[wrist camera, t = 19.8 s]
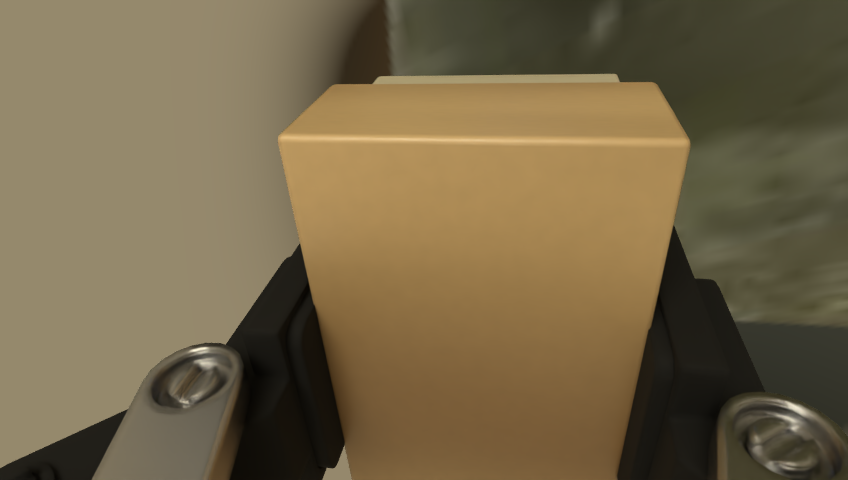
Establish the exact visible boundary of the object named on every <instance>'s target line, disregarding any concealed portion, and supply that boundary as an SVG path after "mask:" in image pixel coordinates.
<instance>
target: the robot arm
mask: <svg viewBox="0 0 848 480" xmlns="http://www.w3.org/2000/svg"><path fill="white" fill-rule="evenodd" d="M344 444H345V441H344V437H343V432H342V428H341V423H340V419H339V414H338V409H337V405H336V400H335V396H334V391H333V386H332V382H331V377H330V373H329V368H328V364H327V359H326V354H325V350H324V345H323V341H322V336H321V331H320V327H319V322H318V318H317V313H316V309H315V305H314V304H313V299H312V295H311V290H310V286H309V281H308V277H307V272H306V267H305V263H304V258H303V254H302V249H301V245H300V244H299V245H298V247H297V249H296V250H295V251H294V253H293V255H292V256H291V257H288V258H286V259H285V260H284V262H283V263H282V264H281V266H280V267H279V268H278V270H277V271H276V273H275V274H274V276H273V277H272V279H271V280H270V281H269V283H268V284H267V286H266V287H265V289H264V290H263V292H262V293H261V294H260V296H259V297H258V299H257V300H256V302H255V303H254V305H253V306H252V308H251V309H250V311H249V312H248V313H247V315H246V316H245V318H244V319H243V321H242V322H241V323H240V325H239V326H238V328H237V329H236V331H235V332H234V333H233V335H232V336H231V338H230V339H229V341H228V342H227V344H226V345H224V344H221V343H204V344H198V345H192V346H189V347H187V348H184V349H181V350H179V351H176V352H175V353H173V354H171V355H170V356H168V357H166V358H164V359H163V360H162V361H160V363H158V364H157V365H156V366H155V367H154V368H152V369H151V370H150V372H149V373H148V375H147V376H146V378H145V379H144V380H143V382H142V384H141V386H140V387H139V390H138V392H137V393H136V395H135V397H134V399H133V401H132V403H131V405H130V407H129V409H127V410H125V411H123V412H121V413H118V414H116V415H114V416H112V417H110V418H108V419H105V420H103V421H101V422H99V423H97V424H94V425H92V426H90V427H88V428H86V429H84V430H81V431H79V432H77V433H75V434H73V435H71V436H68V437H66V438H64V439H62V440H60V441H57V442H55V443H53V444H51V445H49V446H46V447H44V448H42V449H40V450H38V451H35V452H33V453H31V454H29V455H27V456H25V457H22V458H20V459H18V460H16V461H14V462H12V463H9V464H7V465H6V466H4V467H2V468H0V480H322V479H323V476H324V474H325V471H326V468H335V466H336V465H337V463H338V461H339V458H340V455H341V453H342V450H343V447H344ZM617 480H848V436H847V435H846V434H845V433H844V432H843V431H842V429H841V428H840V427H839V426H838V425H837V424H836V423H834V422H833V421H832V420H831V419H829V418H828V417H827V416H825V415H824V414H822V413H821V412H820V411H818V410H816V409H814V408H813V407H811V406H809V405H807V404H805V403H803V402H801V401H799V400H796V399H793V398H790V397H787V396H784V395H781V394H775V393H768V392H765V390H764V388H763V386H762V384H761V381H760V379H759V377H758V374H757V372H756V370H755V368H754V365H753V363H752V361H751V359H750V357H749V354H748V352H747V350H746V347H745V345H744V343H743V341H742V339H741V336H740V334H739V332H738V329H737V327H736V325H735V322H734V320H733V318H732V316H731V313H730V311H729V309H728V307H727V304H726V302H725V300H724V298H723V295H722V293H721V291H720V289H719V287H718V285H717V283H716V282H715V281H713V280H711V279H695V278H694V276H693V273H692V271H691V268H690V266H689V263H688V260H687V258H686V255H685V253H684V250H683V248H682V245H681V242H680V240H679V237H678V235H677V232H676V230H675V227H674V225H673V229H672V234H671V239H670V243H669V248H668V252H667V257H666V262H665V266H664V271H663V275H662V280H661V284H660V289H659V294H658V298H657V303H656V307H655V312H654V317H653V321H652V326H651V328H650V329H649V330H648V334H647V339H646V344H645V348H644V353H643V358H642V362H641V367H640V372H639V376H638V381H637V385H636V390H635V395H634V399H633V404H632V409H631V413H630V418H629V423H628V427H627V432H626V437H625V441H624V446H623V450H622V455H621V460H620V464H619V469H618V474H617Z"/></svg>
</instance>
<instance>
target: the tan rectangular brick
mask: <svg viewBox="0 0 848 480" xmlns="http://www.w3.org/2000/svg"><path fill="white" fill-rule="evenodd" d="M278 144H279V149H280V153H281V158H282V163H283V167H284V171H285V176H286V181H287V185H288V190H289V194H290V199H291V203H292V208H293V213H294V217H295V222H296V226H297V231H298V235H299V240H300V245H301V249H302V254H303V258H304V263H305V267H306V272H307V277H308V281H309V286H310V290H311V295H312V299H313V304H314V305H315V309H316V313H317V318H318V322H319V327H320V331H321V336H322V341H323V345H324V350H325V354H326V359H327V364H328V368H329V373H330V377H331V382H332V386H333V391H334V396H335V400H336V405H337V409H338V414H339V419H340V423H341V428H342V432H343V437H344V441H345V444H344V445H345V450H346V454H347V459H348V463H349V468H350V472H351V477H352V480H617V474H618V469H619V464H620V460H621V455H622V450H623V446H624V441H625V437H626V432H627V427H628V423H629V418H630V413H631V409H632V404H633V399H634V395H635V390H636V385H637V381H638V376H639V372H640V367H641V362H642V358H643V353H644V348H645V344H646V339H647V334H648V330H649V329H650V328H651V326H652V321H653V317H654V312H655V307H656V303H657V298H658V294H659V289H660V284H661V280H662V275H663V271H664V266H665V262H666V257H667V252H668V248H669V243H670V239H671V234H672V229H673V225H674V220H675V216H676V211H677V206H678V202H679V197H680V193H681V188H682V184H683V179H684V174H685V170H686V165H687V161H688V156H689V151H690V147H691V144H690V140H689V138H688V136H687V135H686V133H685V131H684V129H683V128H682V126H681V124H680V123H679V121H678V119H677V118H676V116H675V114H674V112H673V111H672V109H671V107H670V106H669V104H668V102H667V100H666V99H665V97H664V95H663V94H662V92H661V90H660V89H659V87H658V85H657V84H655V83H653V82H620V81H619V79H618V76H617V75H616V74H563V75H463V76H380V77H378V78H377V79H376V80H375V81H374V83H373V84H335V85H333V86H331V87H330V88H328V89H327V90H326V91H325V92H324V93H323V94H322V95H321V96H320V97H319V98H318V99H317V100H316V101H315V102H314V103H312V105H310V106H309V107H308V108H307V109H306V110H305V111H304V112H303V113H302V114H301V115H300V116H299V117H298V118H297V119H295V120H294V121H293V122H292V123H291V124H290V125H289V126H288V127H287V128H286V129H285V130H284V131H283V132H282V133H281V134H279V137H278Z"/></svg>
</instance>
